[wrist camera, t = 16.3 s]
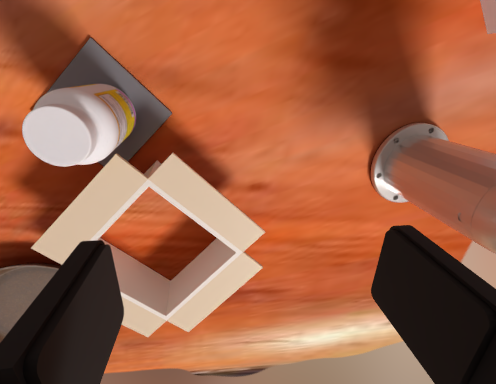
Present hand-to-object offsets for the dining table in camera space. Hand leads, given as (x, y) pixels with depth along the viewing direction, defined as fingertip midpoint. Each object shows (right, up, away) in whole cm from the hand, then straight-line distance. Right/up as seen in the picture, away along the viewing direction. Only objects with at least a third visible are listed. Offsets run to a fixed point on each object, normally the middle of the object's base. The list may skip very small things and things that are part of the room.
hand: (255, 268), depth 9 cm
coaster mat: (-17, +12, +23) cm, 31 cm away
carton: (-12, -3, +30) cm, 33 cm away
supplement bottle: (-17, +12, +23) cm, 31 cm away
